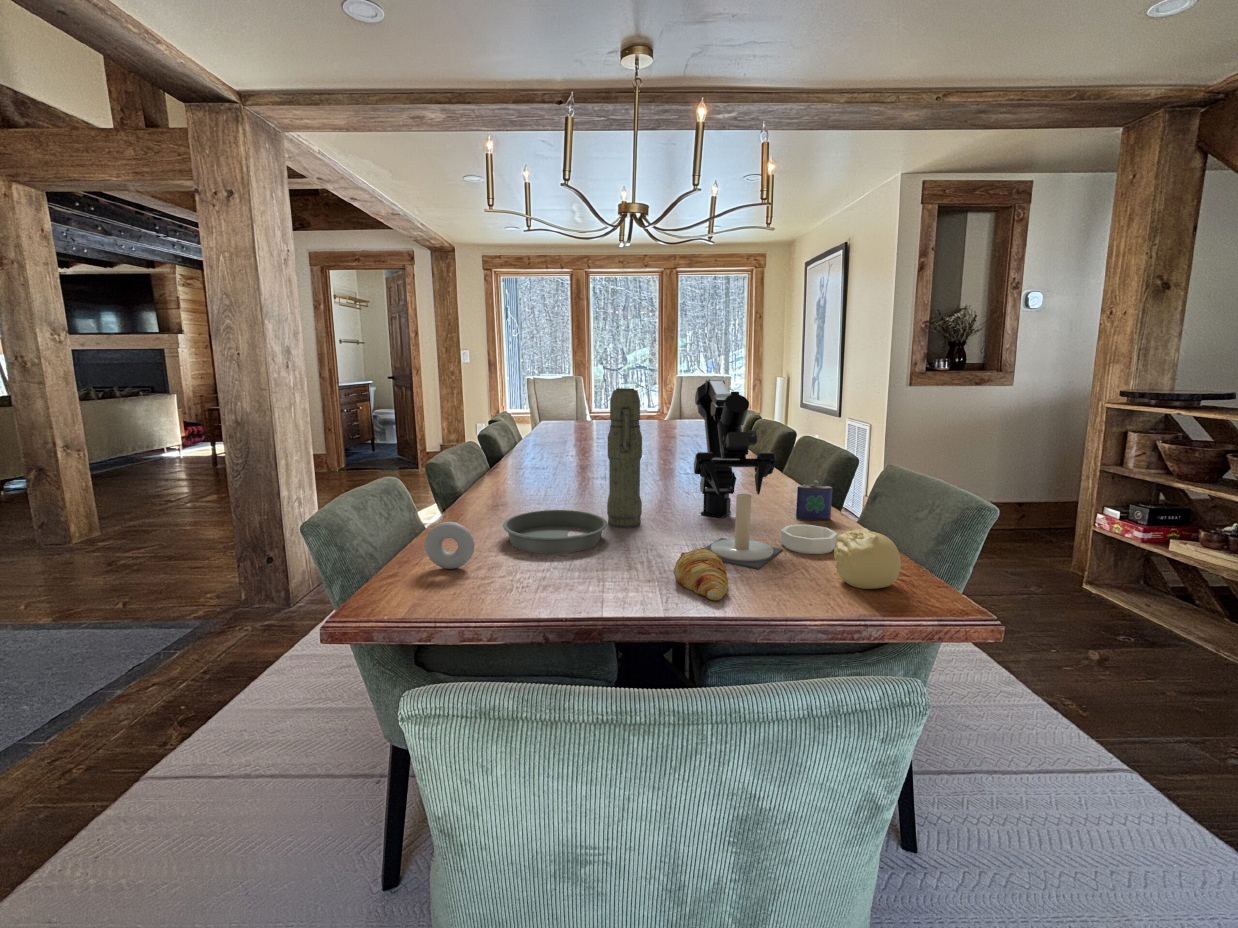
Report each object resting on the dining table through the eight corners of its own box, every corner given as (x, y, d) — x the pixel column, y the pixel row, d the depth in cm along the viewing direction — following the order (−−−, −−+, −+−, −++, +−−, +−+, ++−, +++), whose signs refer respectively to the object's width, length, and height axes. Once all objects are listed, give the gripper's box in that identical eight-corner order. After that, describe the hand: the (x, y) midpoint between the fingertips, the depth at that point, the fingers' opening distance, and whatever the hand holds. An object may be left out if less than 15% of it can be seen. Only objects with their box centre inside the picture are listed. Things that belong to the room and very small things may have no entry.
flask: (829, 518, 168) (831, 479, 166) (832, 520, 165) (834, 481, 163) (794, 517, 168) (796, 479, 166) (797, 520, 165) (799, 481, 163)
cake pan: (542, 564, 131) (541, 544, 130) (484, 538, 149) (483, 520, 148) (628, 542, 147) (628, 523, 146) (566, 520, 165) (566, 504, 164)
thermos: (636, 516, 168) (637, 387, 162) (645, 528, 157) (647, 390, 151) (604, 517, 167) (604, 387, 161) (610, 530, 155) (611, 390, 149)
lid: (700, 554, 136) (702, 497, 134) (725, 538, 147) (727, 486, 145) (759, 565, 129) (762, 506, 126) (781, 548, 140) (784, 493, 138)
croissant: (733, 622, 111) (754, 583, 110) (686, 601, 108) (708, 561, 108) (695, 578, 131) (713, 545, 131) (655, 559, 129) (673, 526, 128)
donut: (424, 571, 126) (421, 524, 124) (428, 565, 129) (426, 519, 127) (473, 571, 126) (471, 524, 124) (476, 565, 129) (475, 519, 127)
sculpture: (824, 572, 126) (828, 521, 124) (884, 573, 126) (888, 522, 124) (842, 594, 115) (847, 538, 113) (908, 595, 114) (913, 539, 112)
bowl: (775, 548, 141) (775, 533, 140) (791, 536, 151) (792, 522, 150) (826, 558, 135) (827, 542, 134) (840, 544, 144) (841, 529, 144)
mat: (693, 556, 136) (693, 554, 136) (721, 539, 148) (721, 537, 148) (758, 569, 128) (758, 567, 128) (782, 550, 140) (782, 548, 140)
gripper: (696, 418, 144) (702, 473, 135) (776, 418, 144) (787, 473, 135) (691, 446, 153) (696, 500, 144) (766, 446, 153) (776, 500, 144)
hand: (738, 493), depth 141 cm, fingers open, 9 cm apart
